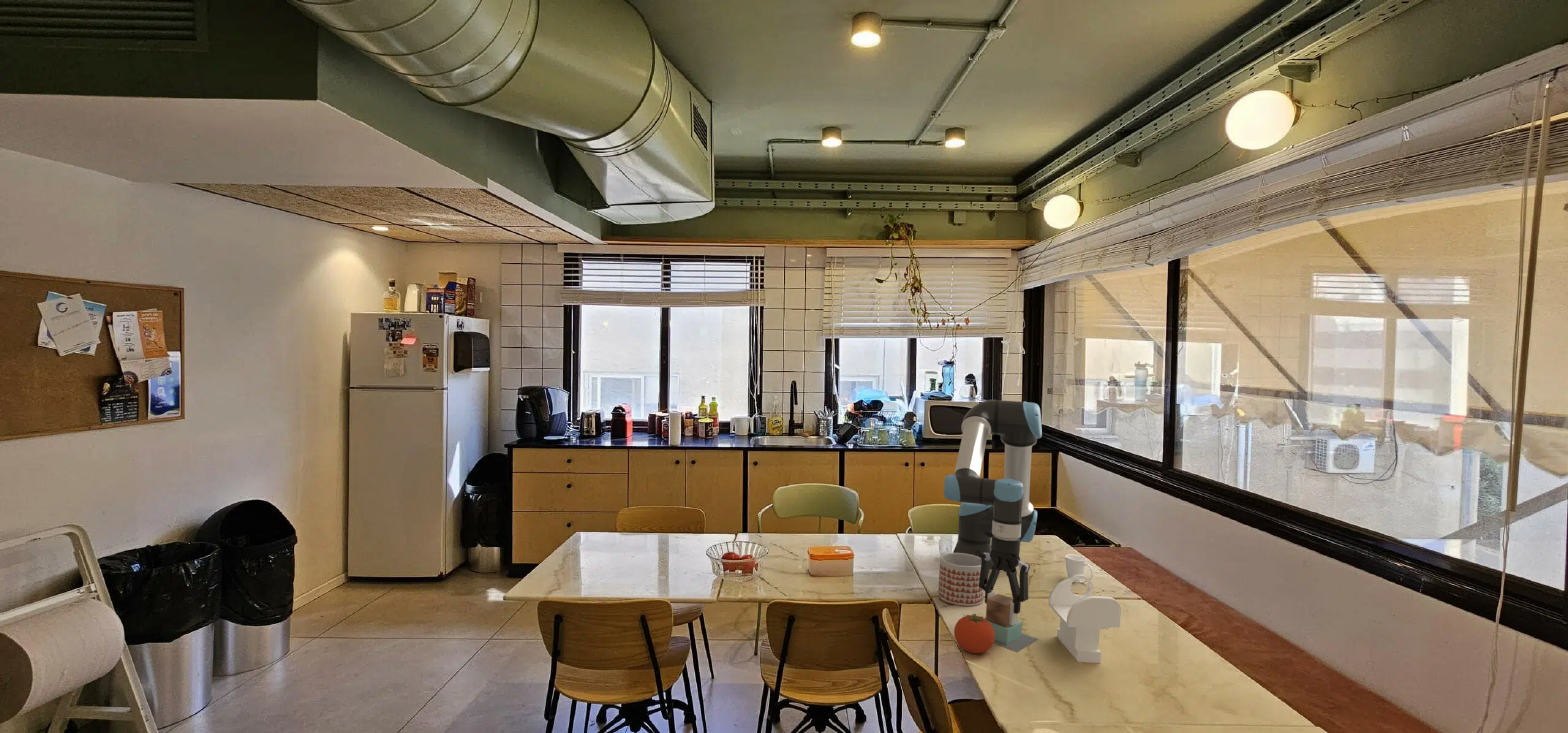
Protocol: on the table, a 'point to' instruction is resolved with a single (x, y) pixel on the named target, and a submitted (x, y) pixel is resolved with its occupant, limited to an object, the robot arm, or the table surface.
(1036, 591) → the table surface
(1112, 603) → the tape dispenser
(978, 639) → the tomato
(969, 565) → the planter
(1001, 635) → the teal base block
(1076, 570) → the cup
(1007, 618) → the walnut block
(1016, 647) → the build mat
